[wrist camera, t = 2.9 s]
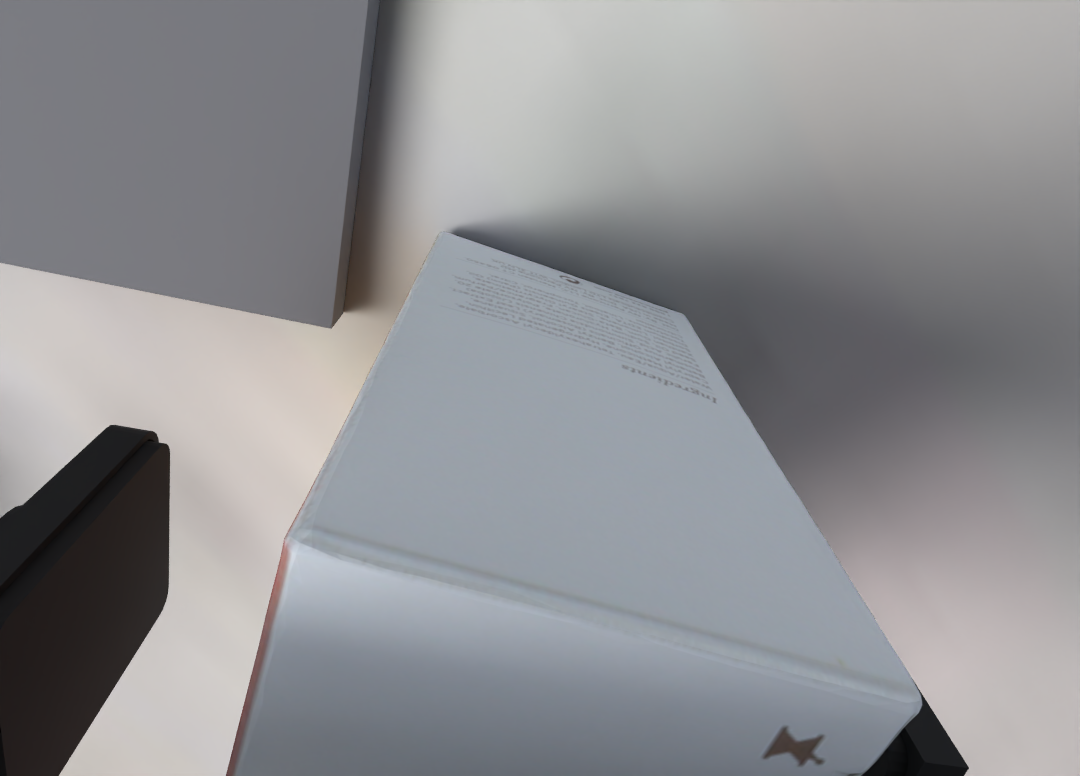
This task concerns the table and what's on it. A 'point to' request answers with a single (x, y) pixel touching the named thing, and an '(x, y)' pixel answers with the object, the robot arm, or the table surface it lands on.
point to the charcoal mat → (187, 146)
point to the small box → (558, 561)
